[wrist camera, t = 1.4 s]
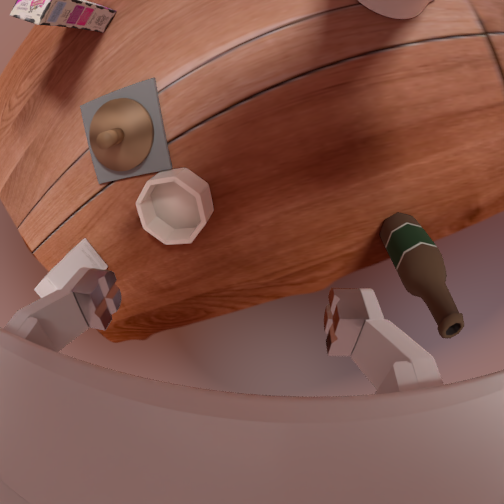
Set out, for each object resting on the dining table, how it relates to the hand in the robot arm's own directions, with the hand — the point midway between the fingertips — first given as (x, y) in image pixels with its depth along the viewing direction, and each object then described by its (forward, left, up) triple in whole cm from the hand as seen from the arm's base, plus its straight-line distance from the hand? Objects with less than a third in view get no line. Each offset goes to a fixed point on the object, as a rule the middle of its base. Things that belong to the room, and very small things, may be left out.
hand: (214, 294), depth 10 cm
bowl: (+9, -17, -35) cm, 40 cm away
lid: (-5, -25, -35) cm, 43 cm away
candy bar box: (-31, -28, -36) cm, 55 cm away
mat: (-5, -25, -35) cm, 43 cm away
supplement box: (+20, -45, -36) cm, 61 cm away
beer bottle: (+17, +21, -35) cm, 45 cm away
